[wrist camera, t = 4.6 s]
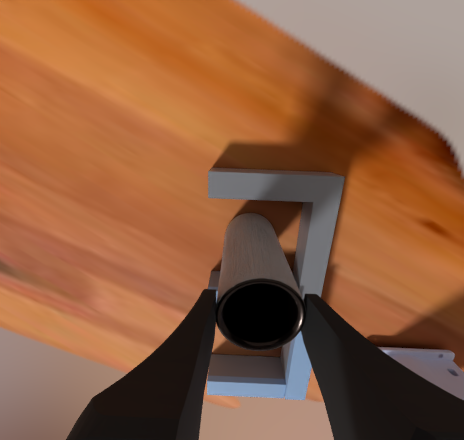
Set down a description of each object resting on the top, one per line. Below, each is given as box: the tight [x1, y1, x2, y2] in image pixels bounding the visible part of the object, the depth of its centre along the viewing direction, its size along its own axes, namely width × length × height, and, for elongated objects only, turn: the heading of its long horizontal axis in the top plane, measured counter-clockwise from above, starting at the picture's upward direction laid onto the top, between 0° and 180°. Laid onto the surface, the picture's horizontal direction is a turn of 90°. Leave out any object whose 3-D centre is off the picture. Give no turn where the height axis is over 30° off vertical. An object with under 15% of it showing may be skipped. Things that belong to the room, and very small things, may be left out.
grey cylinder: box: [215, 213, 306, 351], centre depth 16 cm, size 4×4×10 cm
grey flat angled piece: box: [208, 168, 345, 379], centre depth 21 cm, size 10×23×2 cm, turn 178°
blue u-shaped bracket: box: [207, 287, 312, 400], centre depth 22 cm, size 10×13×1 cm
